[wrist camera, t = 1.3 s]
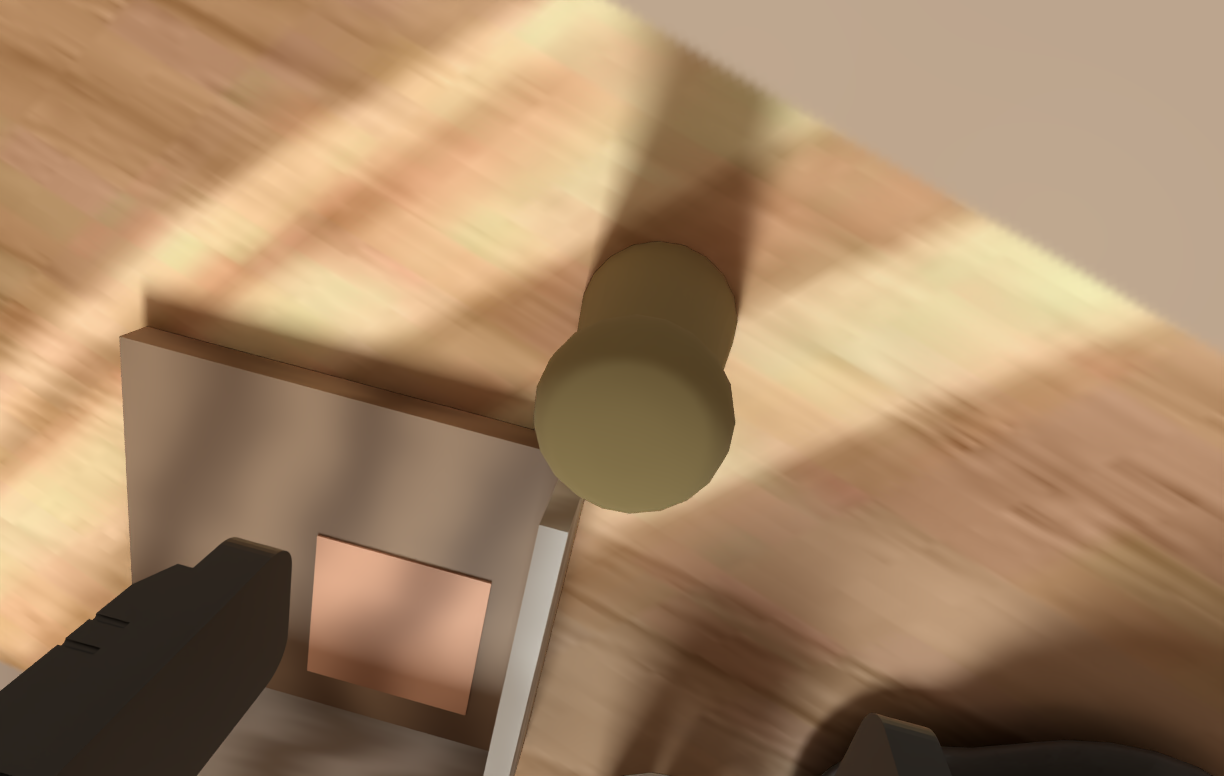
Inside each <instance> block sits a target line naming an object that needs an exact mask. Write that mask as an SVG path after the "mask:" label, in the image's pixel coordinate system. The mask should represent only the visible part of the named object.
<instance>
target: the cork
mask: <svg viewBox="0 0 1224 776" xmlns="http://www.w3.org/2000/svg"><path fill="white" fill-rule="evenodd" d="M736 325H737V316H736V307H735V299H734V296H733V294H732V291H731V289H730V287H729V285H728V283H727V281H726V279H725V277H724V275H723V274H722V273H721V272H720V271H719V270H718V269H717V268H716V267H715V266H714V265H713V264H712V263H711V261H710V260H709V259H708V258H707V257H705V256H703V255H701V254H699V253H698V252H696V251H694V250H692V249H690V248H688V247H686V246H684V245H679V244H673V243H667V242H661V241H655V242H649V243H643V244H636V245H632V246H630V247H628V248H626V249H624V250H622V251H620V252H618V253H616V254H615V255H613V256H611V257H610V258H609V259H608V260H607V261H606V262H605V263H604V264H603V265H602V266H601V267H600V268H599V269H598V270H597V271H596V272H595V273H594V274H593V276H592V278H591V281H590V283H589V285H588V287H587V289H586V291H585V293H584V295H583V300H582V306H581V312H580V318H579V324H578V330H577V332H575V333H574V334H573V335H572V336H571V337H570V338H569V339H568V340H567V341H566V342H565V343H564V344H563V345H562V346H561V347H560V348H559V349H558V350H557V351H556V352H555V353H554V355H553V356H552V357H551V359H550V360H549V362H548V364H547V366H546V369H545V371H544V373H543V375H542V377H541V379H540V381H539V383H538V385H537V390H536V399H535V409H534V427H535V431H536V435H537V440H538V444H539V448H540V452H541V453H542V455H543V457H544V458H545V460H546V462H547V463H548V465H549V467H550V468H551V470H552V472H553V473H554V475H555V476H556V477H557V478H558V479H559V480H560V481H562V482H563V483H564V484H565V485H566V486H567V487H568V488H569V489H570V490H571V491H573V492H574V493H575V494H576V495H577V496H579V497H581V498H583V499H585V500H587V501H589V502H591V503H593V504H595V505H597V506H599V507H601V508H603V509H609V510H614V511H619V512H624V513H640V512H652V511H661V510H664V509H666V508H669V507H671V506H674V505H676V504H679V503H682V502H684V501H687V500H688V499H689V498H691V497H692V496H693V495H694V494H696V493H697V492H698V491H699V490H701V489H702V488H703V487H704V486H706V485H707V484H708V483H709V482H710V481H711V479H712V478H713V476H714V474H715V473H716V471H717V470H718V468H719V467H720V465H721V463H722V462H723V460H724V459H725V457H726V455H727V453H728V451H729V448H730V443H731V439H732V435H733V430H734V426H735V416H734V408H733V400H732V392H731V384H730V382H729V380H728V378H727V376H726V374H725V372H724V367H725V364H726V361H727V358H728V356H729V353H730V350H731V347H732V343H733V339H734V334H735V329H736Z"/></svg>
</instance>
